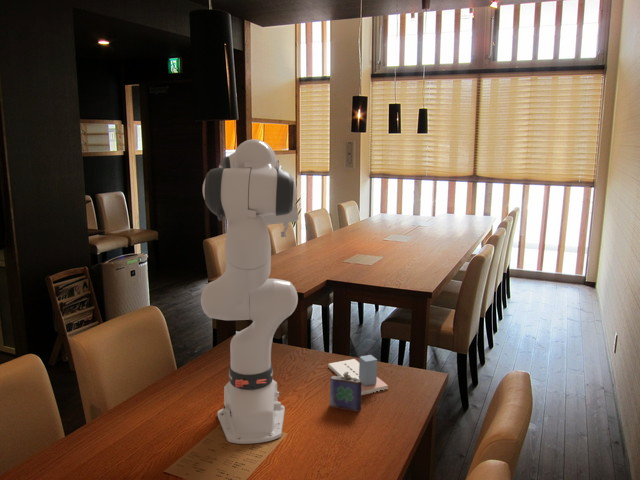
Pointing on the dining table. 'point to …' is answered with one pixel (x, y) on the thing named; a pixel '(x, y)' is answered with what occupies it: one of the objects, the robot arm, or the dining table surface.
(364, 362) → the grey rectangular block
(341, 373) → the board
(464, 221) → the dining table surface
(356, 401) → the flask
